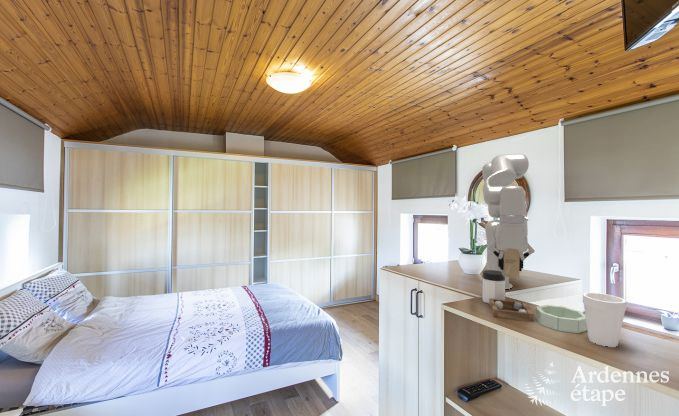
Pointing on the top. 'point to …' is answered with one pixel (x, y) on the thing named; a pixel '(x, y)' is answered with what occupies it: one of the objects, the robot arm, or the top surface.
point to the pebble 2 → (517, 306)
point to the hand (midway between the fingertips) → (510, 269)
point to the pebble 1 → (499, 304)
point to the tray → (511, 314)
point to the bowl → (561, 318)
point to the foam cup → (604, 318)
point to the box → (511, 263)
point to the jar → (493, 285)
